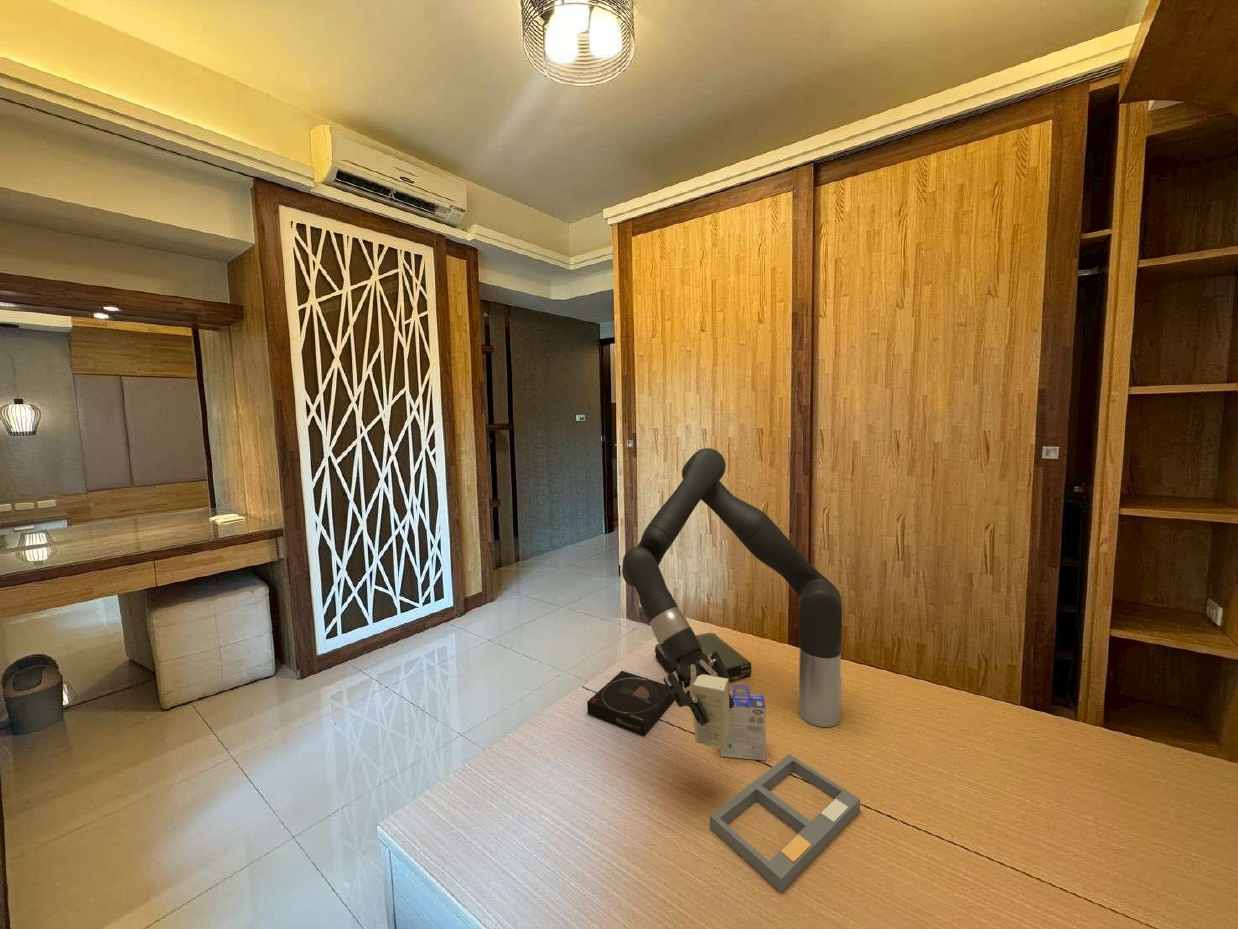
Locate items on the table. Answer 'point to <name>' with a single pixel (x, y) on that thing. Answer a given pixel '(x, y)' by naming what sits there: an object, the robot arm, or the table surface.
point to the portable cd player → (631, 702)
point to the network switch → (729, 657)
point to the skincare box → (713, 711)
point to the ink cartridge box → (747, 726)
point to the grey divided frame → (787, 822)
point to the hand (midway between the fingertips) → (718, 715)
